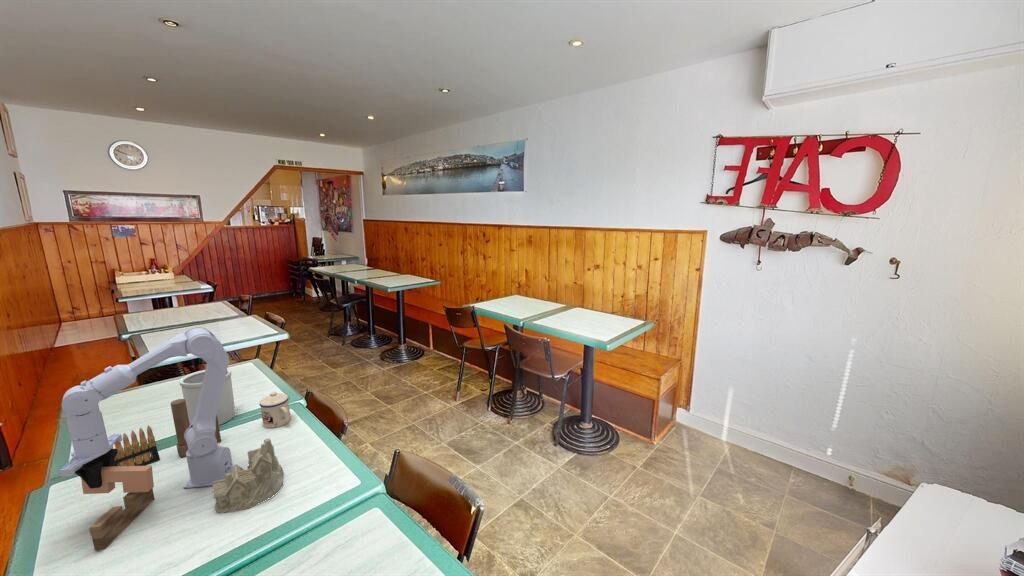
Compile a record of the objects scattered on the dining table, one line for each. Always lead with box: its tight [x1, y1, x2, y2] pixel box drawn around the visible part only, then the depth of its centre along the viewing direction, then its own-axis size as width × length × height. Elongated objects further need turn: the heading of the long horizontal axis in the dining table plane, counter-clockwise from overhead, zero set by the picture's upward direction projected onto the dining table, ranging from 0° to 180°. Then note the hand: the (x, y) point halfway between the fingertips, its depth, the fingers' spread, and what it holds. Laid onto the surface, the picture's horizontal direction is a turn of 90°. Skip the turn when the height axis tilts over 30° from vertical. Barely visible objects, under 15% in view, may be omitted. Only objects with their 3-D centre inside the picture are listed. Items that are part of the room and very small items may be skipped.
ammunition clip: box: [111, 424, 161, 467], centre depth 117 cm, size 11×2×12 cm, turn 143°
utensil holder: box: [179, 368, 236, 426], centre depth 144 cm, size 15×15×18 cm
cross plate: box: [80, 465, 155, 495], centre depth 98 cm, size 14×2×6 cm, turn 99°
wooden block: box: [170, 398, 222, 458], centre depth 126 cm, size 4×11×18 cm, turn 146°
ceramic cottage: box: [212, 437, 285, 514], centre depth 107 cm, size 16×16×15 cm
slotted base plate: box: [89, 487, 156, 551], centre depth 97 cm, size 16×2×6 cm, turn 10°
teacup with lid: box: [259, 391, 291, 429], centre depth 141 cm, size 12×9×12 cm
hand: (100, 483), depth 97 cm, fingers closed on cross plate, 2 cm apart
